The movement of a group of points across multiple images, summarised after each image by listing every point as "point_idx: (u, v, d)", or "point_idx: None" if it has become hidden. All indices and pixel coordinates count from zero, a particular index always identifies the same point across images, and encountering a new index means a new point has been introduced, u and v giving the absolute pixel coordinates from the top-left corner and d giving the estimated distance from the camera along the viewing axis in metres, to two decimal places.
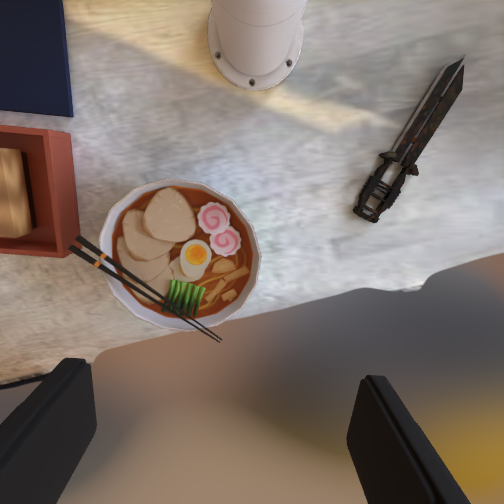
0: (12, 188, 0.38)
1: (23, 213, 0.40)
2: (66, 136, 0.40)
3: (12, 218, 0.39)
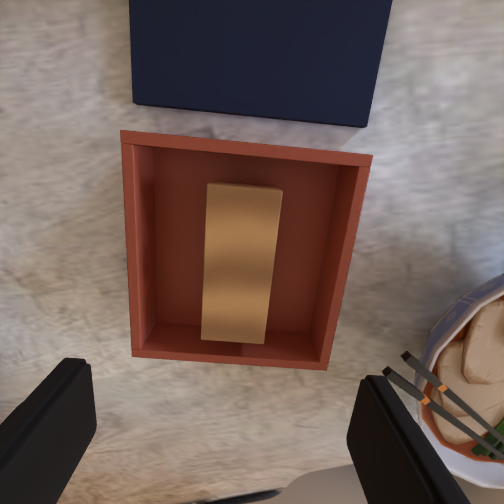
0: None
1: None
2: None
3: (267, 313, 0.21)
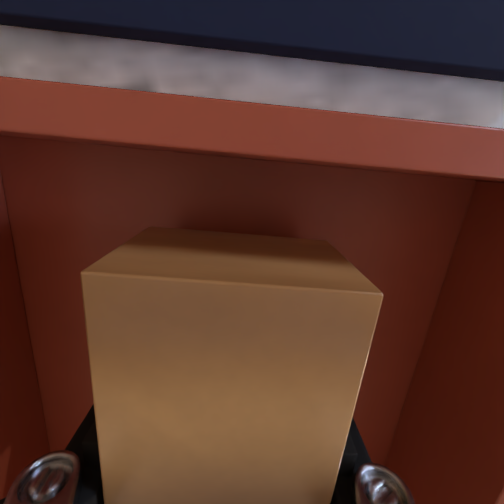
0: None
1: None
2: None
3: None
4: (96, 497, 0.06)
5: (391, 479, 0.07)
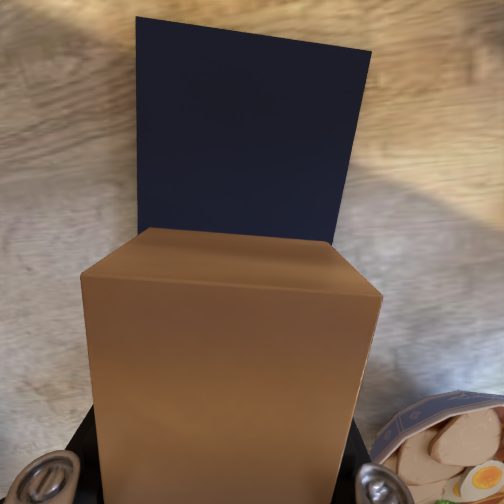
0: None
1: None
2: None
3: None
4: (96, 497, 0.06)
5: (391, 479, 0.07)
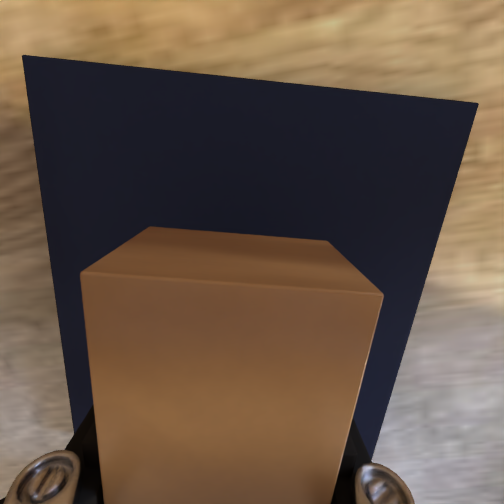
0: None
1: None
2: None
3: None
4: (96, 497, 0.06)
5: (391, 479, 0.07)
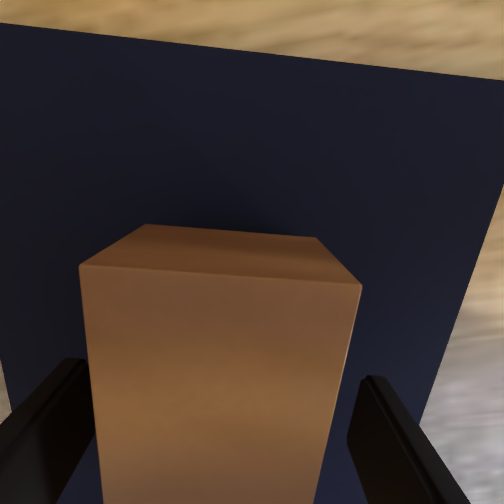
0: None
1: None
2: None
3: None
4: None
5: None
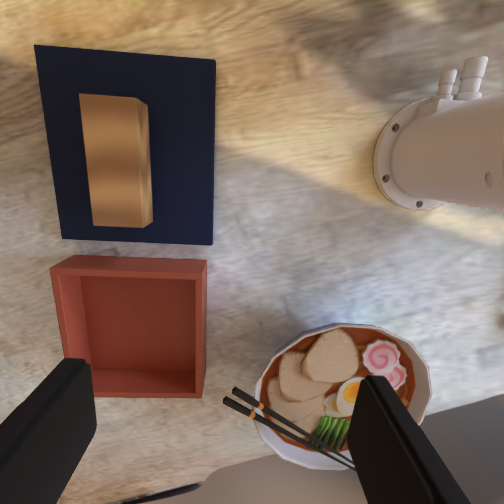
0: (142, 158, 0.27)
1: (148, 194, 0.30)
2: (206, 266, 0.35)
3: (142, 200, 0.28)
4: None
5: None
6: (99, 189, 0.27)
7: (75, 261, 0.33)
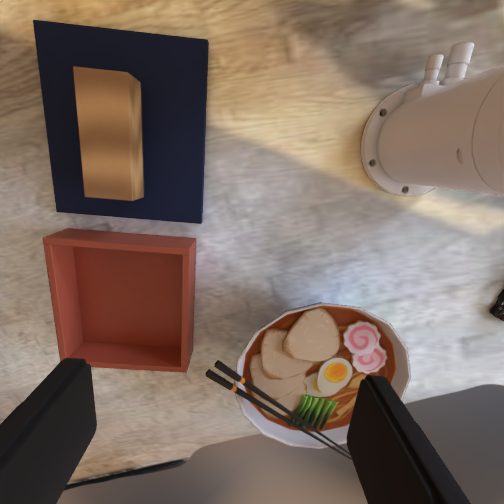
0: (133, 132, 0.28)
1: (139, 169, 0.31)
2: (194, 244, 0.36)
3: (131, 173, 0.29)
4: None
5: None
6: (91, 161, 0.28)
7: (68, 233, 0.34)
